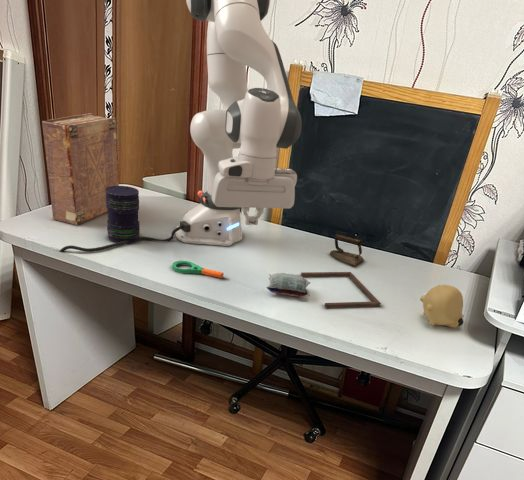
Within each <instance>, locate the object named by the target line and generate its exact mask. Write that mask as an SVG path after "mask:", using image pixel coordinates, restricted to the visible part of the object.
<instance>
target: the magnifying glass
mask: <svg viewBox="0 0 524 480" xmlns="http://www.w3.org/2000/svg"><path fill="white" fill-rule="evenodd" d="M171 266H172V270H173V271H175V272H177V273H180V274H199V275H205V276H210V277H215V278H219V279H222V278H223V277H224V272H222V271H219V270H213V269H209V268H204V267H202V266H200V265H198V264H197V263H194V262H192V261H190V260H189V261H188V260H176V261H173V262H172V265H171ZM178 266H188V267H190V268H181V267H178Z"/></svg>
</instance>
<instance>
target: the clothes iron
mask: <svg viewBox="0 0 524 480" xmlns="http://www.w3.org/2000/svg"><path fill="white" fill-rule="evenodd" d="M339 241H340V242H342V243H343V242H344V243H347V244H351V245H354V246H357V248H358V254H356V253H352V252H349V251H344V249H342V248H341V247H340V246H339ZM362 242H363V241H362V239H357V238H352V237H348V236H345V235H341V234H339V233H336V234H335V236H334V247H335V249H333V250H331V251H330V252H329V255H330V257H331V258H333V259H334V260H336V261H338V262H339V263H343V264H344V265H347V266H350V267H353V268H356V267H357V266H359V265H361V264H362V263H363V262H364V261H365V258H364V257H363V256H362V253H363V249H362Z"/></svg>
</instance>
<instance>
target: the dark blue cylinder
mask: <svg viewBox="0 0 524 480" xmlns="http://www.w3.org/2000/svg"><path fill="white" fill-rule="evenodd" d="M105 191H106V208H107V212H106V213H107V221H106V230H107V234H108V235H107V239H108V240H109V241H110V242H112V243H113V244H114V243H118V242H122V241H125V240H128V241H129V242H128V243H126V244H125V245H130V244H135V243H137V242H139V241H140V240H137V238H138V237H141V236H140V234H141V233H140V232H141V228H140V226H141V225H140V220H139V211H140V194H139V193H140V192H139V189H137V188H135V187H133V186H128V185H127V186H126V185H119V186H111V187H108V188H106V189H105Z"/></svg>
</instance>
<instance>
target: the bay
mask: <svg viewBox="0 0 524 480" xmlns="http://www.w3.org/2000/svg"><path fill="white" fill-rule="evenodd" d="M300 276H302V277H303V278H333V277H334V278H338V277H339V278H342V277H348V278H349V279H350V280H351V282H352V283H354V284H355V286H356V287H357V288H358V289H359V290H360V291H361V292H362V293H363V295H365V296H366V298H368V299H369V300H370V301H345V302H341V301H340V302H325V303H324V308H325V309H345V308H347V309H348V308H371V307H373V308H374V307H381V305H382V303H381V302H380V300H378V298H377V297H376V296H374V295H373V293H372V292H371V291H370V290H369V289H368V288H367V287H366V286H365V285H364V284H363V283H362V282H361V280H359V279H358V278H357V277H356V276H355V275H354V274H353V273H352V272H351V271H314V272H313V271H312V272H311V271H309V272H307V271H305V272H304V271H303V272H302V271H301V272H300Z"/></svg>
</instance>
